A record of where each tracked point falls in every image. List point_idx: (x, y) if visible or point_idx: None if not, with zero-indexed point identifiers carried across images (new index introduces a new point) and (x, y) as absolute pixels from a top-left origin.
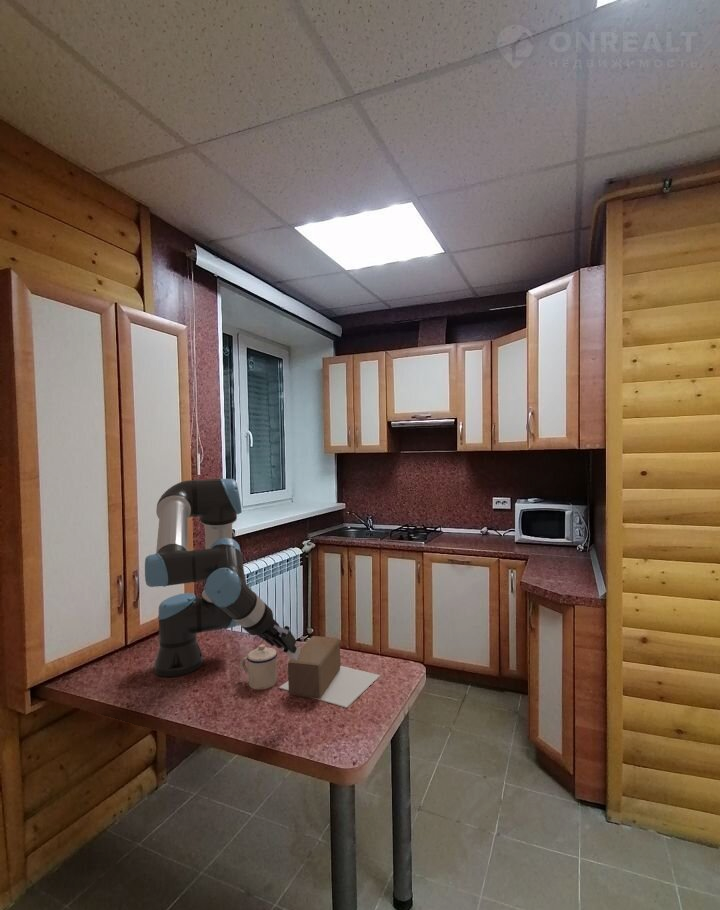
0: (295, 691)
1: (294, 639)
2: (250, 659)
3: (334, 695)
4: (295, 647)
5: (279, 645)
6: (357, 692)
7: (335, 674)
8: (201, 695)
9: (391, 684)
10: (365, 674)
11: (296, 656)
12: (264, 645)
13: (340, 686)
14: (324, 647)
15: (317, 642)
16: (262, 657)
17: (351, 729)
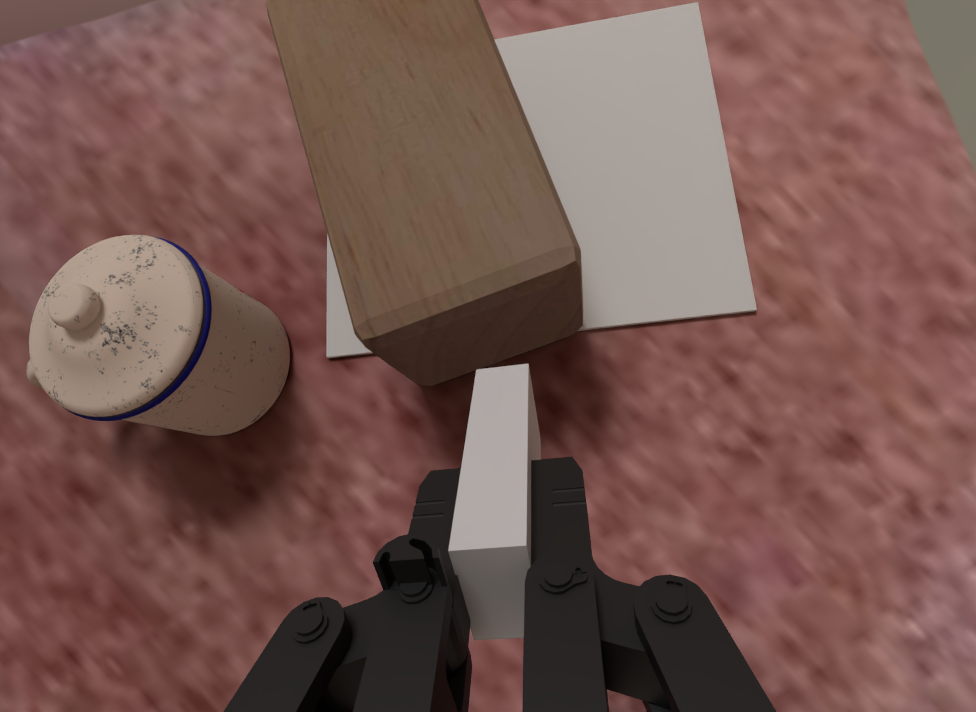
0: (456, 374)
1: (756, 690)
2: (91, 415)
3: (625, 262)
4: (583, 492)
5: (465, 687)
6: (708, 179)
7: None
8: (31, 617)
9: (796, 30)
10: (626, 37)
11: (537, 435)
12: (82, 291)
13: (593, 185)
14: (447, 61)
15: (357, 38)
16: (150, 367)
17: (915, 446)
